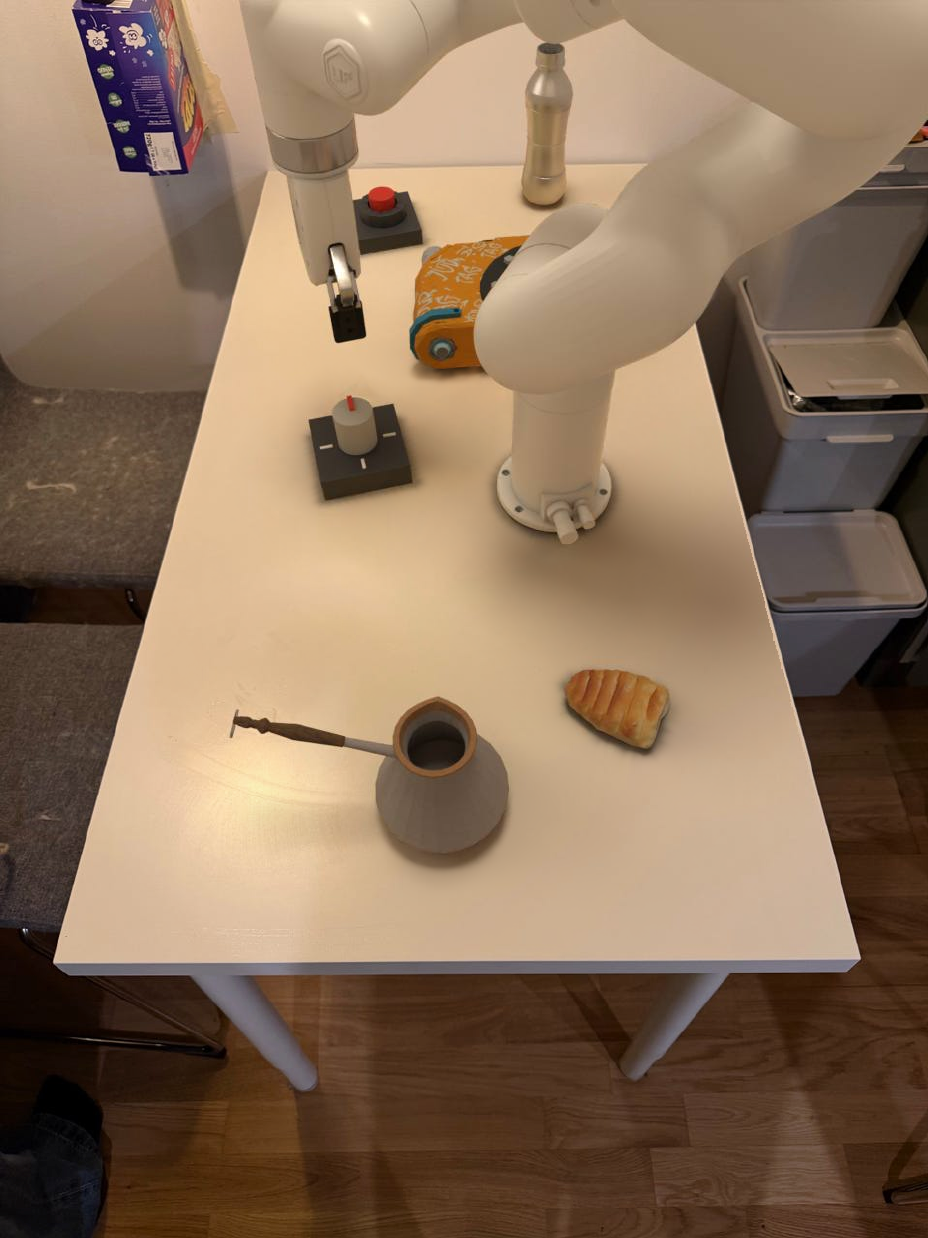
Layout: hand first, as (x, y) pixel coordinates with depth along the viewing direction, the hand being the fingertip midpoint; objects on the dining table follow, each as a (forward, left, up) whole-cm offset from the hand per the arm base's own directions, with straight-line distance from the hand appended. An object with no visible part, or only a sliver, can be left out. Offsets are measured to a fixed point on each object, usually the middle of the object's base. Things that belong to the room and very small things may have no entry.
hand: (341, 308), depth 86 cm
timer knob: (-6, +1, -13) cm, 14 cm away
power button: (+38, -10, -13) cm, 42 cm away
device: (+14, -24, -17) cm, 33 cm away
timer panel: (-6, +1, -16) cm, 17 cm away
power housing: (+38, -10, -16) cm, 43 cm away
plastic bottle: (+39, -34, -17) cm, 55 cm away
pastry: (-44, -17, -17) cm, 50 cm away
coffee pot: (-46, +6, -17) cm, 49 cm away
